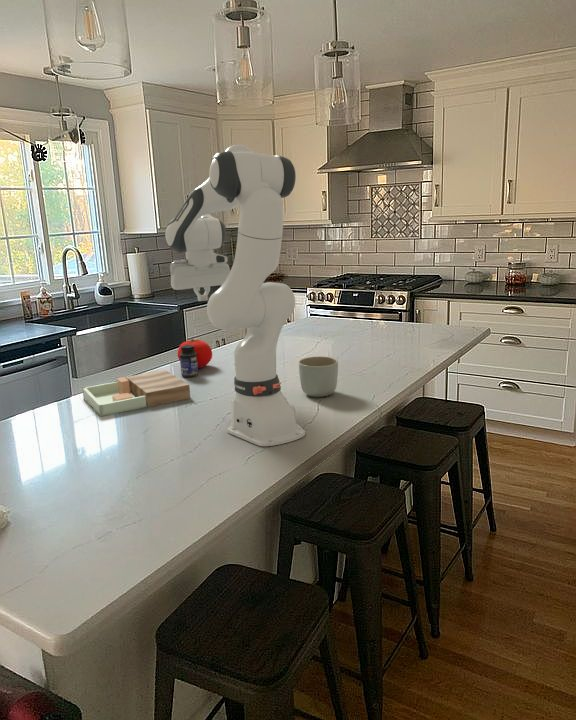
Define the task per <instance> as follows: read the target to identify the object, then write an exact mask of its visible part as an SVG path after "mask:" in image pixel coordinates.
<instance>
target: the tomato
mask: <svg viewBox="0 0 576 720" xmlns="http://www.w3.org/2000/svg"><path fill="white" fill-rule="evenodd" d="M183 345H194V352H196V354H197V364H198V369H200V368H203V367H205V366H207V365H208V364H210V362H211V360H212V359H213V351H212V348H211V347H210V345H209V344H208V342H205V341H203V340H201V339H193V338H192V339H189V340H186V341H183V342H182V343H181V344H180V345H179V347H178V350H177V359H178V361H180V354H181V353H182V350H181V346H183Z"/></svg>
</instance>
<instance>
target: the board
mask: <svg viewBox="0 0 576 720" xmlns="http://www.w3.org/2000/svg"><path fill="white" fill-rule="evenodd" d="M125 378H126V379H127V380H129V387H130V393H132V394H133V395H134V396H136V397H140V396H145V398H146V407H148V408H149V407H153V406H158V405H164V404H167V403H172V402H177V401H183V400H187V399H191V390H190V384H189V383H188V382H186V381H184V380H183V379H181V378H179V377H177V376H176V375H174V374H173V373H171V372H169V371H168V370H166V369H163V370H158V371H153V372H146V373H141V374H135V375H130V376H126V377H125Z"/></svg>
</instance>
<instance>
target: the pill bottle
mask: <svg viewBox="0 0 576 720" xmlns="http://www.w3.org/2000/svg"><path fill="white" fill-rule="evenodd" d="M181 350H182V353H181V354H180V360H179V362H180V363H179V364H180V372H181V377H183V378H195V377H197V376H198V375H199V368H198V364H197V354H196V352H194V345H183V346H181Z"/></svg>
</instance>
